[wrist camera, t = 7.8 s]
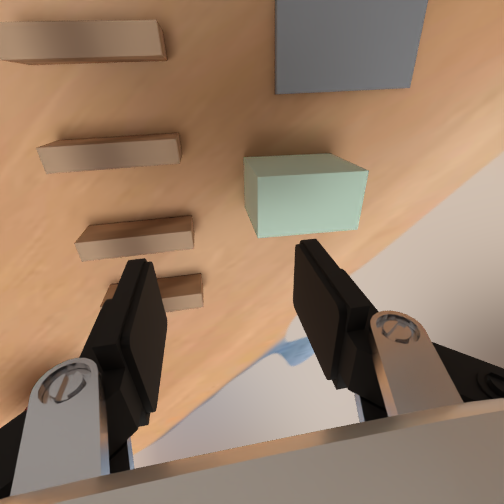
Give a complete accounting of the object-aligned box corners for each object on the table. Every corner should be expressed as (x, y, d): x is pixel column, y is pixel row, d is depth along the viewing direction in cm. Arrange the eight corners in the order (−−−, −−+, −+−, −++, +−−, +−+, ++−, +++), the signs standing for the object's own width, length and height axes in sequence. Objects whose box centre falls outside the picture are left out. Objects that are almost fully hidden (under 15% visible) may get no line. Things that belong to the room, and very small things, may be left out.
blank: (329, 152, 23) (368, 170, 17) (323, 200, 25) (357, 229, 19) (243, 157, 22) (257, 177, 16) (244, 206, 24) (257, 238, 18)
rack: (162, 30, 17) (156, 19, 14) (202, 286, 27) (203, 307, 24) (19, 33, 16) (-15, 22, 13) (115, 297, 26) (105, 320, 23)
